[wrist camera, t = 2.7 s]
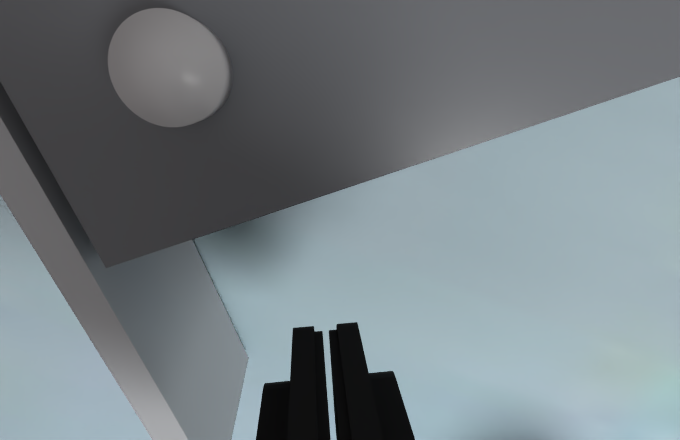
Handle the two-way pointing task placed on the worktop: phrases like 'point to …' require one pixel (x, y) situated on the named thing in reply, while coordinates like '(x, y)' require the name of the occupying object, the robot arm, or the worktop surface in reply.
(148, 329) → the door
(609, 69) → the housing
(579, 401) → the worktop surface
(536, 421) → the worktop surface
